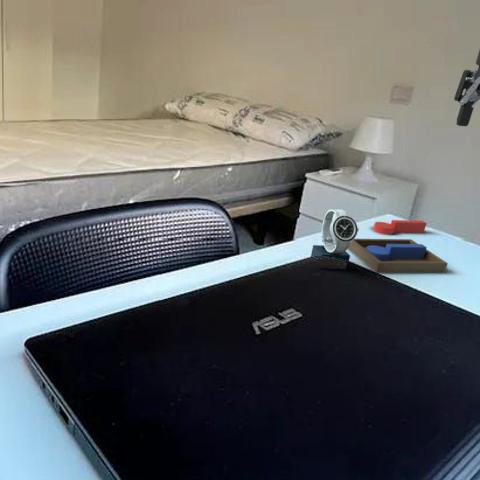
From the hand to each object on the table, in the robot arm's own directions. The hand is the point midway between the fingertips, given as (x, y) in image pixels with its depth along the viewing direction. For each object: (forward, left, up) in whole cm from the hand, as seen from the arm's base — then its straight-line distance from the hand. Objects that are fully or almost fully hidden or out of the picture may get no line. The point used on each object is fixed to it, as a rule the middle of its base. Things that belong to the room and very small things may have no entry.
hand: (477, 130), depth 96 cm
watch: (+28, +6, -26) cm, 39 cm away
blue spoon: (+13, +4, -26) cm, 29 cm away
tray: (+13, +4, -26) cm, 29 cm away
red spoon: (+2, -11, -26) cm, 29 cm away
